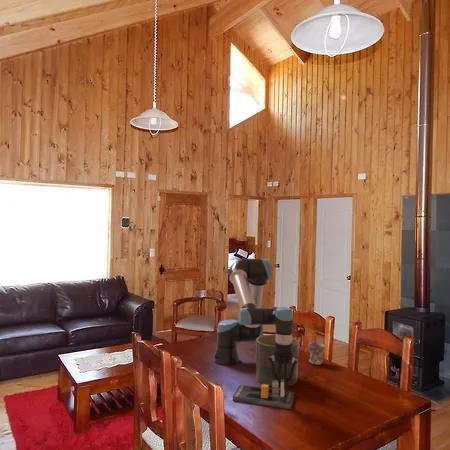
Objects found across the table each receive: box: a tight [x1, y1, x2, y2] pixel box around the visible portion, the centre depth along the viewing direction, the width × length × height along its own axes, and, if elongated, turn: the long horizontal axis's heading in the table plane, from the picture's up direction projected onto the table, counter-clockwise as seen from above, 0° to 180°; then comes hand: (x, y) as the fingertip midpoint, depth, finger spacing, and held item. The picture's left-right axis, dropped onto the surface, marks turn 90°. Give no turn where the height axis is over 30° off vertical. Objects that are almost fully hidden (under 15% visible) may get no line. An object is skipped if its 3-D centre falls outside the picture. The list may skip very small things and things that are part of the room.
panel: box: [232, 380, 295, 410], centre depth 182 cm, size 26×14×7 cm, turn 74°
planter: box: [255, 334, 300, 388], centre depth 206 cm, size 22×22×20 cm
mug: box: [304, 342, 325, 366], centre depth 232 cm, size 12×9×11 cm
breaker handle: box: [260, 383, 270, 399], centre depth 178 cm, size 3×3×5 cm
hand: (282, 395), depth 176 cm, fingers closed
